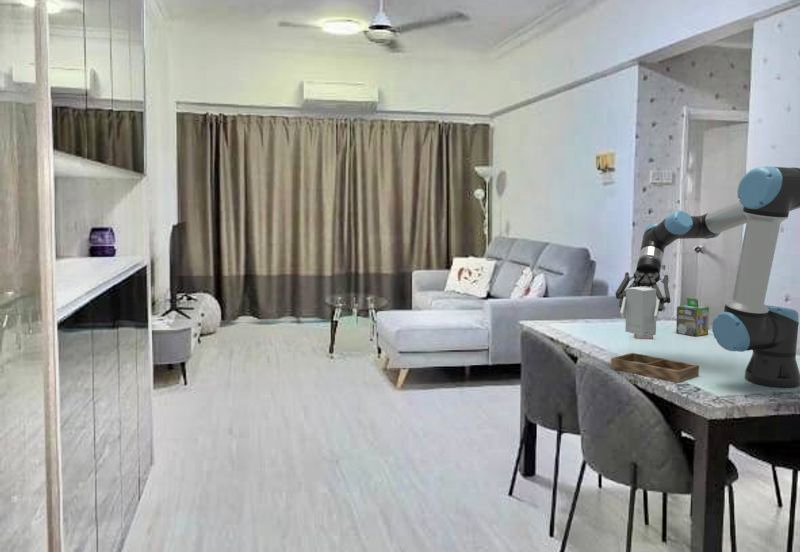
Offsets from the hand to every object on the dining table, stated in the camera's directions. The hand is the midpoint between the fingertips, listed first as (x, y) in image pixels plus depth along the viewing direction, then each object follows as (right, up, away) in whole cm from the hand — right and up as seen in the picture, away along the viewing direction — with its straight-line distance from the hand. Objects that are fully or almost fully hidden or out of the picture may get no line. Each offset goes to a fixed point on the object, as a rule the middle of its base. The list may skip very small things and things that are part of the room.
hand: (638, 316), depth 225 cm
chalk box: (+44, -11, +65) cm, 79 cm away
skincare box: (+2, -6, +4) cm, 7 cm away
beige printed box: (+21, -12, +55) cm, 60 cm away
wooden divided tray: (+5, -18, 0) cm, 18 cm away
